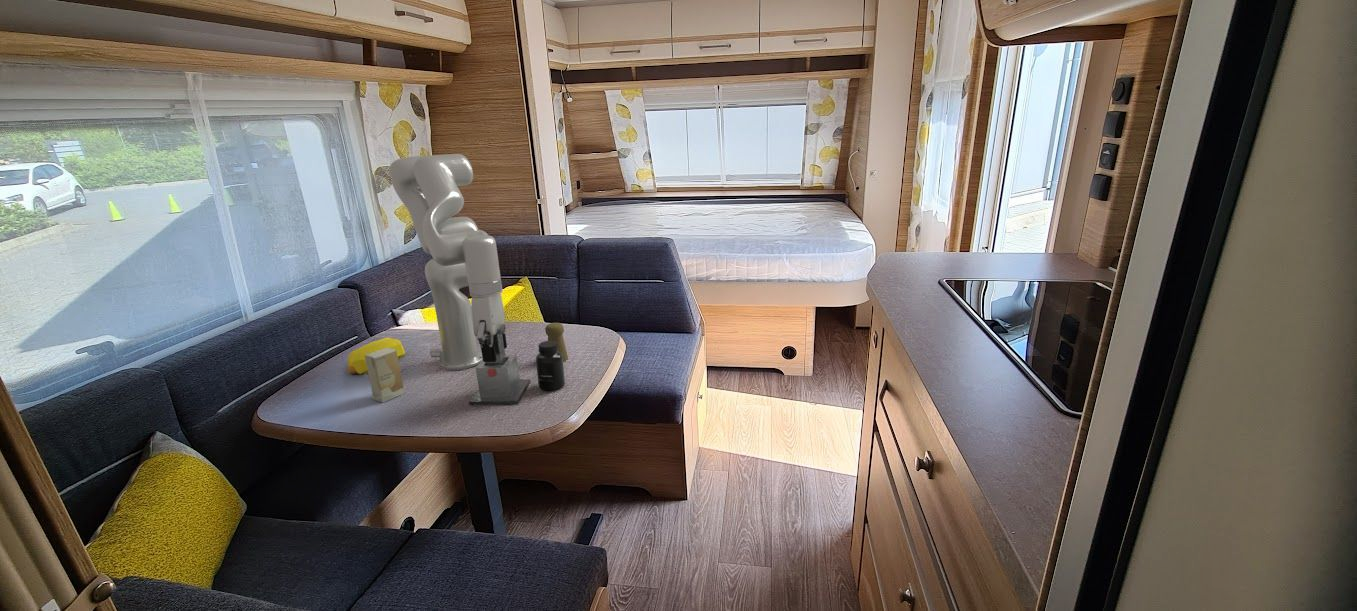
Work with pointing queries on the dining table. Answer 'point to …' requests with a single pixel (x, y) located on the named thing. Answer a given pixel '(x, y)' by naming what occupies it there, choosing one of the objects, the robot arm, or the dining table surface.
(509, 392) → the stand base
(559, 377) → the supplement bottle
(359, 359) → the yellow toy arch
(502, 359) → the column
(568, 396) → the dining table surface
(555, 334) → the olive knobbed figure
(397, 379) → the skincare box
